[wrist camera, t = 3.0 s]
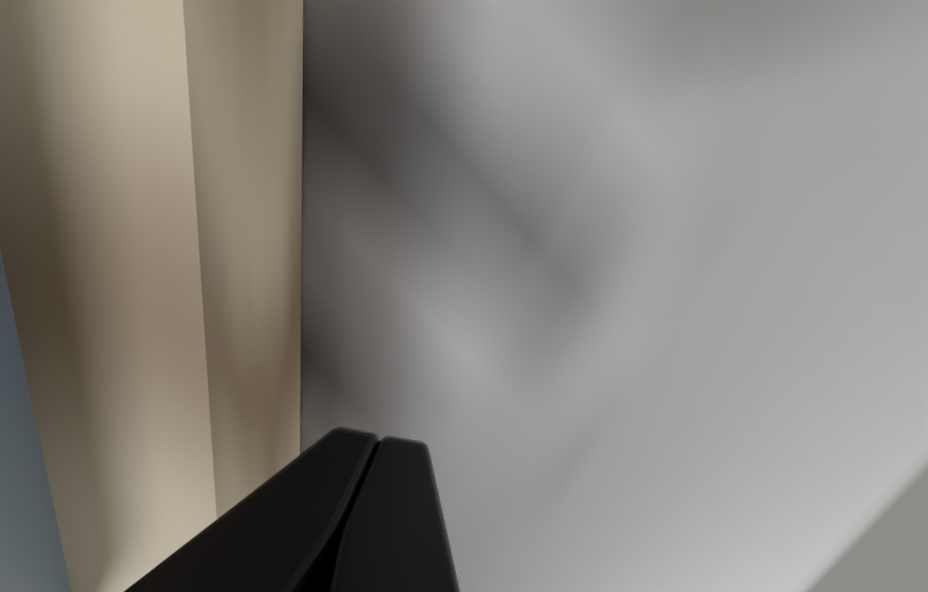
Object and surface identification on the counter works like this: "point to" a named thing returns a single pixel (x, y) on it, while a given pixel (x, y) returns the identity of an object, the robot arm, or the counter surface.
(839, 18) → the counter surface
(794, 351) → the counter surface
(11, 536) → the blue-grey block
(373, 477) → the robot arm
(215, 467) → the panel
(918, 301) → the counter surface
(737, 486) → the counter surface
